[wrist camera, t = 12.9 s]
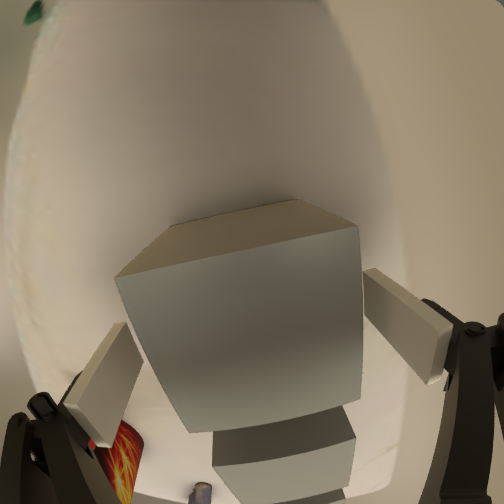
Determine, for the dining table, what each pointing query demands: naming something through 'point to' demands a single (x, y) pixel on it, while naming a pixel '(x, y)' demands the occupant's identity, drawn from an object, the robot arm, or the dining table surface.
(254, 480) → the pale gray cube
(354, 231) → the pale grey cube
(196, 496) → the flask
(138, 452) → the mug
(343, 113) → the dining table surface
